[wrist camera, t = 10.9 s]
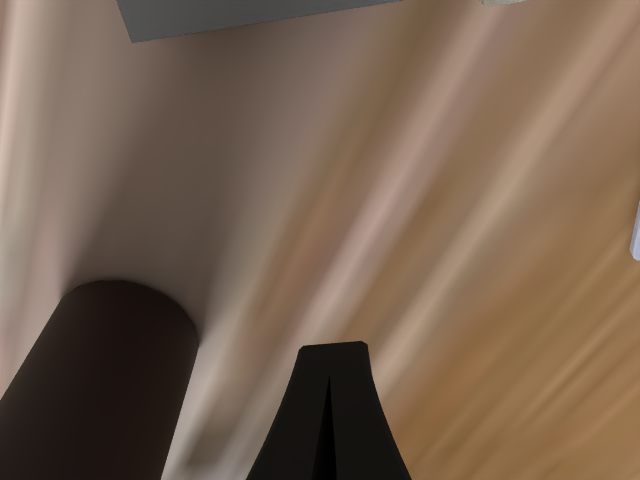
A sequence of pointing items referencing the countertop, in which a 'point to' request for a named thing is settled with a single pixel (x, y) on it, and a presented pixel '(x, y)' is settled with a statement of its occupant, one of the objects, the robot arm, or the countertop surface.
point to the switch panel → (217, 14)
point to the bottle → (99, 388)
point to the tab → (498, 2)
